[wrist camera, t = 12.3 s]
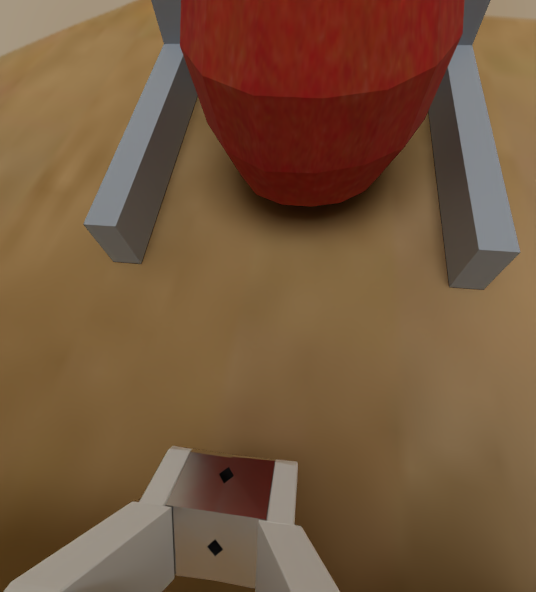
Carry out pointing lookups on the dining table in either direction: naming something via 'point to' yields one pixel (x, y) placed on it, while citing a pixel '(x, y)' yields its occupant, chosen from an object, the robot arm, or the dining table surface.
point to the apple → (316, 86)
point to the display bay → (445, 139)
